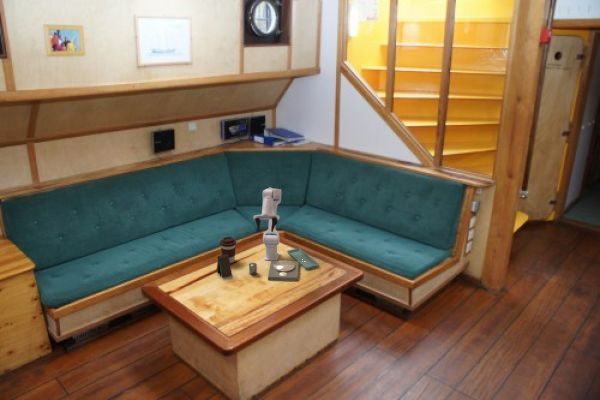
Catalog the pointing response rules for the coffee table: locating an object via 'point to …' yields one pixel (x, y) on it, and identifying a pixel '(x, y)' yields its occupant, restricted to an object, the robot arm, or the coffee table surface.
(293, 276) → the scale base
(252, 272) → the cylinder
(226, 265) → the phone stand
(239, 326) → the coffee table surface
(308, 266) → the rectangular tray
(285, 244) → the coffee table surface
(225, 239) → the coffee cup
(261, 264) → the coffee table surface
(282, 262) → the scale pan
